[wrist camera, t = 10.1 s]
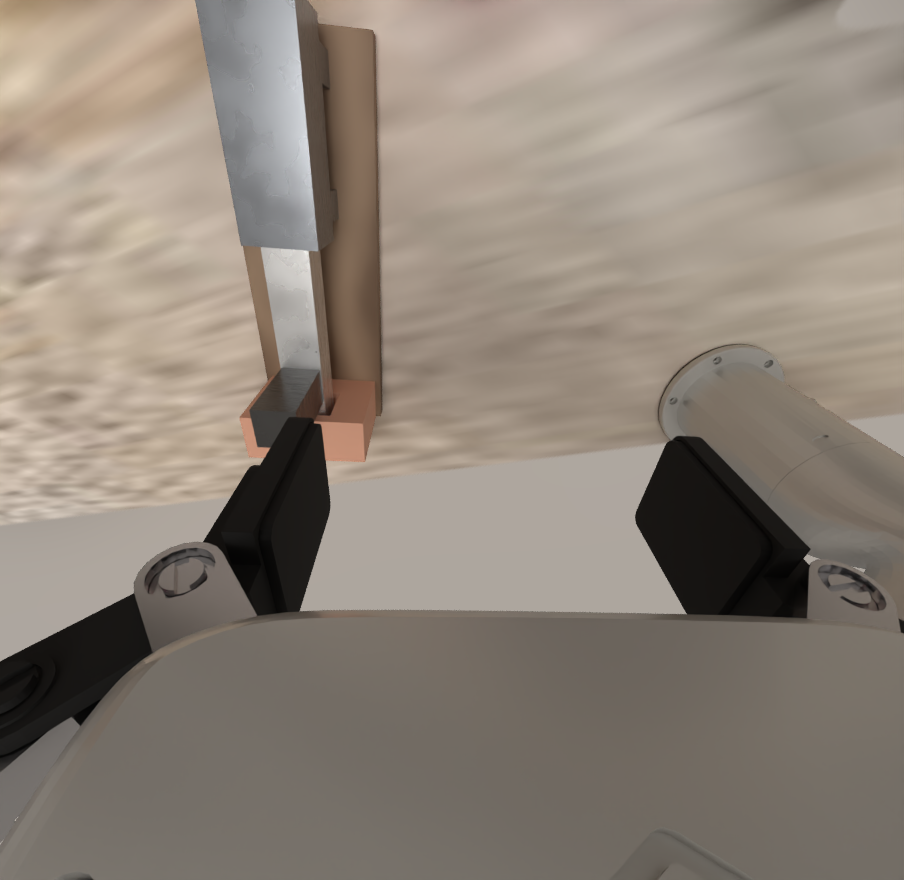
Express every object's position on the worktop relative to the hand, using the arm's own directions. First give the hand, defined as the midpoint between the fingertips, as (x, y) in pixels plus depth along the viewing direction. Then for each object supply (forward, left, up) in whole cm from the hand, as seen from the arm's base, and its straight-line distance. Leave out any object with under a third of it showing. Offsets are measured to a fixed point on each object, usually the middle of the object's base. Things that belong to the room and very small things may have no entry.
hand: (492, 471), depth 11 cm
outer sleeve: (+12, -8, -29) cm, 32 cm away
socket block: (+12, +13, -29) cm, 34 cm away
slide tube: (+12, +5, -25) cm, 28 cm away
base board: (+12, +1, -30) cm, 33 cm away
